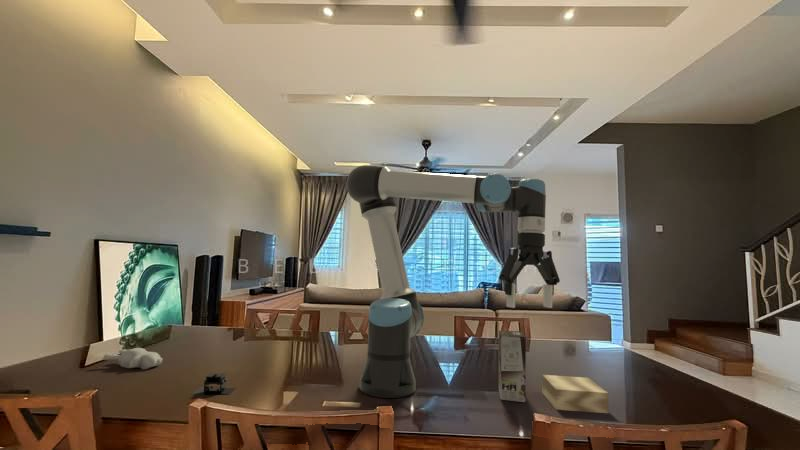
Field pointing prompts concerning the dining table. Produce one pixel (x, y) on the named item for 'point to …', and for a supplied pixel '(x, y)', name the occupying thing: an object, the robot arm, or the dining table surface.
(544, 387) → the beech block
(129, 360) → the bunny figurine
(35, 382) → the dining table surface
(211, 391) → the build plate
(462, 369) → the dining table surface
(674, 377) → the dining table surface
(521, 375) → the coffee box
